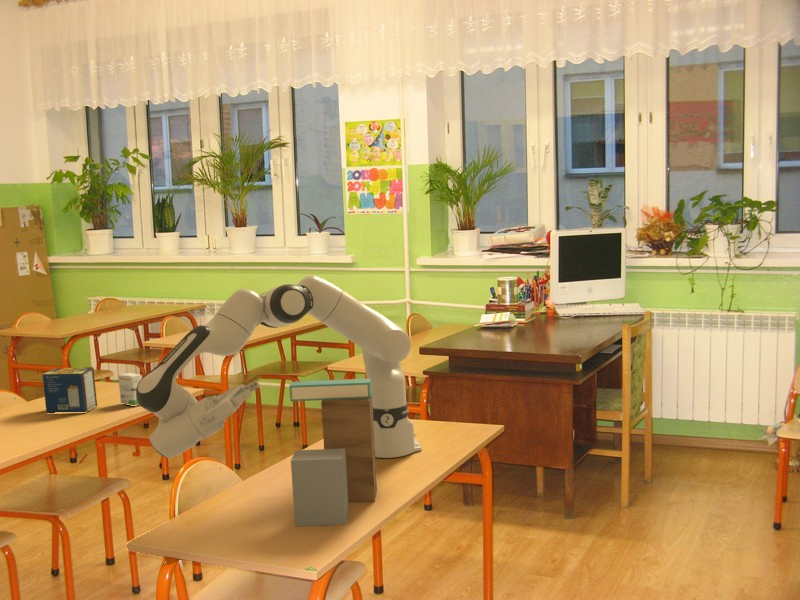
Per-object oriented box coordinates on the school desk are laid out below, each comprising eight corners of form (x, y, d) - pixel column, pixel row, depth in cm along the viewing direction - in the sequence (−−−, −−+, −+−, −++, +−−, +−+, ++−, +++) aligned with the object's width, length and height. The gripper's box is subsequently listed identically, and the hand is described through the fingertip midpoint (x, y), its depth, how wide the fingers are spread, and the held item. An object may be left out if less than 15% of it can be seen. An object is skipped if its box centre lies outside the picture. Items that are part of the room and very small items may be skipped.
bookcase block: (331, 490, 232) (325, 393, 228) (377, 489, 231) (371, 391, 228) (327, 503, 223) (321, 402, 220) (374, 501, 222) (369, 400, 219)
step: (299, 513, 217) (295, 450, 215) (348, 512, 216) (345, 448, 214) (295, 526, 209) (290, 460, 207) (345, 524, 208) (342, 458, 206)
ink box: (145, 404, 337) (142, 374, 335) (134, 407, 333) (131, 376, 331) (131, 402, 342) (128, 372, 341) (120, 404, 338) (117, 374, 337)
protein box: (59, 407, 338) (55, 367, 336) (97, 406, 337) (94, 366, 335) (45, 415, 328) (41, 373, 326) (85, 414, 326) (81, 372, 324)
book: (293, 397, 226) (292, 381, 226) (371, 394, 226) (370, 378, 225) (290, 401, 222) (289, 385, 221) (370, 398, 221) (369, 382, 221)
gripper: (190, 416, 213) (238, 386, 212) (211, 396, 233) (255, 369, 232) (205, 437, 214) (252, 408, 212) (224, 416, 234) (268, 389, 233)
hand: (254, 387), depth 222 cm, fingers open, 8 cm apart
